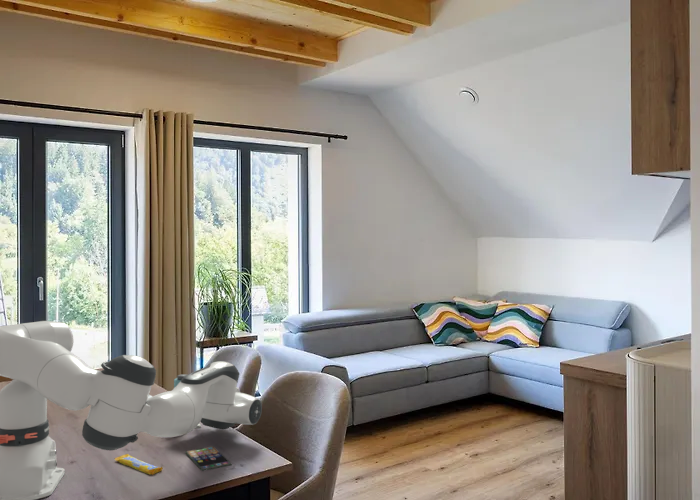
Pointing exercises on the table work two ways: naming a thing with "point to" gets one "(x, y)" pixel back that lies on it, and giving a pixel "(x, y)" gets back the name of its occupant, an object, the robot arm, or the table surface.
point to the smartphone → (207, 458)
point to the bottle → (178, 379)
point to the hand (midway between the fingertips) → (189, 396)
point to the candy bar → (138, 464)
